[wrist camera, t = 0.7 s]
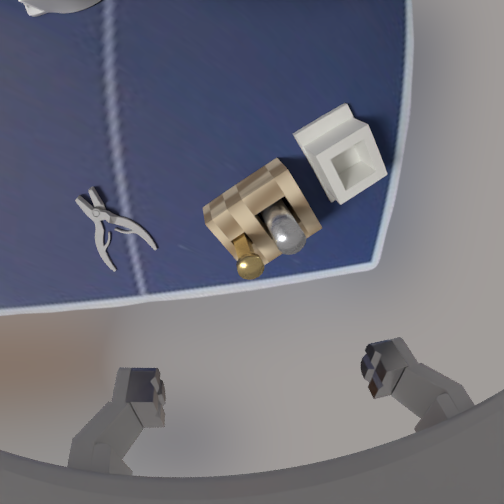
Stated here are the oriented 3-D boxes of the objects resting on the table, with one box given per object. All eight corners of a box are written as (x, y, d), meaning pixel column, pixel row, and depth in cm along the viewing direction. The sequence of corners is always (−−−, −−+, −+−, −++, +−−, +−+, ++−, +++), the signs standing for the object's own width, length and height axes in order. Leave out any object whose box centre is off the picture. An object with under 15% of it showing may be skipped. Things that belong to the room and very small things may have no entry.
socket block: (202, 207, 49) (205, 224, 44) (276, 157, 47) (287, 169, 42) (243, 255, 56) (249, 274, 51) (310, 212, 54) (322, 228, 49)
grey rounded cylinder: (252, 200, 50) (271, 240, 40) (273, 187, 49) (297, 223, 40) (265, 217, 52) (285, 259, 43) (285, 204, 52) (310, 243, 42)
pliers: (112, 275, 51) (60, 209, 42) (113, 269, 52) (63, 205, 43) (157, 251, 50) (107, 178, 41) (158, 246, 52) (109, 174, 43)
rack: (292, 133, 45) (306, 143, 40) (344, 103, 43) (363, 109, 38) (329, 200, 53) (344, 216, 48) (374, 171, 51) (392, 184, 46)
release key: (224, 235, 48) (232, 267, 41) (243, 222, 47) (255, 253, 41) (237, 250, 50) (247, 283, 43) (256, 238, 49) (269, 270, 43)
